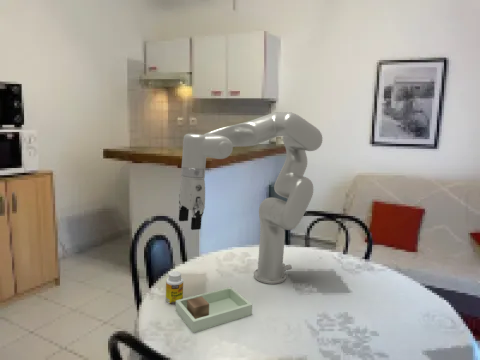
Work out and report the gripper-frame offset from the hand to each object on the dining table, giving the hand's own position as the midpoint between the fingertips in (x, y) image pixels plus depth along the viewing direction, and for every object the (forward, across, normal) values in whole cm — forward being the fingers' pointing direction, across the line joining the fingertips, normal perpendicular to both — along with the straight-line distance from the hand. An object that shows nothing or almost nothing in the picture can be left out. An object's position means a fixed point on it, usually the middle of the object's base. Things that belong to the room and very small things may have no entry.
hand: (189, 224), depth 114 cm
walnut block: (+25, -13, +1) cm, 28 cm away
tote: (+26, -13, -4) cm, 29 cm away
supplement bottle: (+26, 0, +4) cm, 27 cm away
